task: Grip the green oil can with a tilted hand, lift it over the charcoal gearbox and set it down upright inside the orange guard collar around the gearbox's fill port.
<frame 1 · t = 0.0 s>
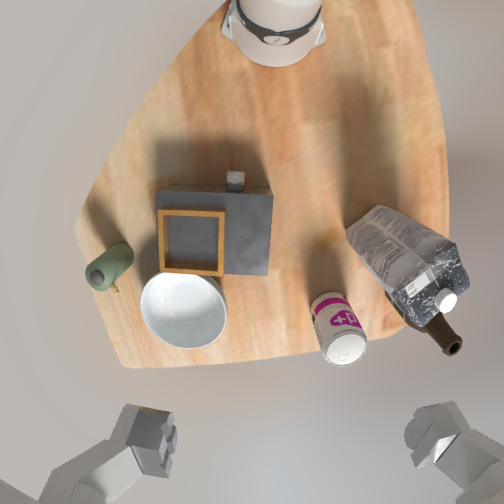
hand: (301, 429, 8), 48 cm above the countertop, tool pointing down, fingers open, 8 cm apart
juice carton: (370, 230, 56), on the countertop
supplement can: (328, 307, 61), on the countertop
beer bottle: (398, 283, 59), on the countertop
oil can: (122, 255, 58), on the countertop
gearbox: (219, 220, 55), on the countertop
cereal bowl: (189, 295, 61), on the countertop
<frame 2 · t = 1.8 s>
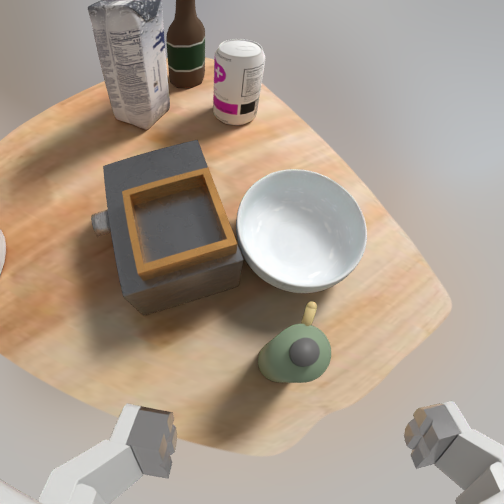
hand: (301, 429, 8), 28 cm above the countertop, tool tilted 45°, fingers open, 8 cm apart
juice carton: (142, 115, 52), on the countertop
supplement can: (234, 114, 53), on the countertop
beer bottle: (187, 80, 57), on the countertop
oil can: (279, 361, 36), on the countertop
gearbox: (172, 241, 41), on the countertop
cereal bowl: (292, 246, 43), on the countertop
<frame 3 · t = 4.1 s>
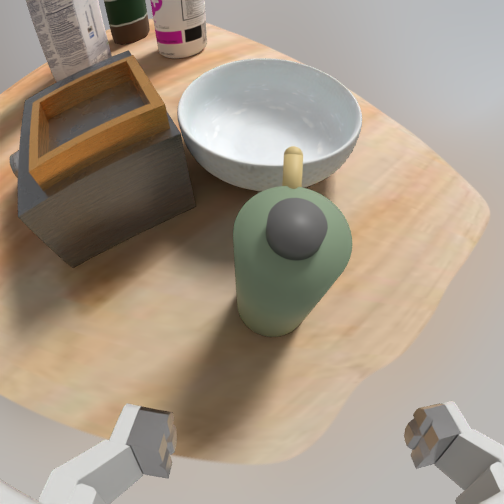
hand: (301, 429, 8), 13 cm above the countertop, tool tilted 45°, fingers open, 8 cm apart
juice carton: (84, 73, 40), on the countertop
supplement can: (183, 50, 41), on the countertop
beer bottle: (132, 37, 45), on the countertop
oil can: (272, 302, 24), on the countertop
gearbox: (109, 172, 29), on the countertop
cereal bowl: (266, 151, 31), on the countertop
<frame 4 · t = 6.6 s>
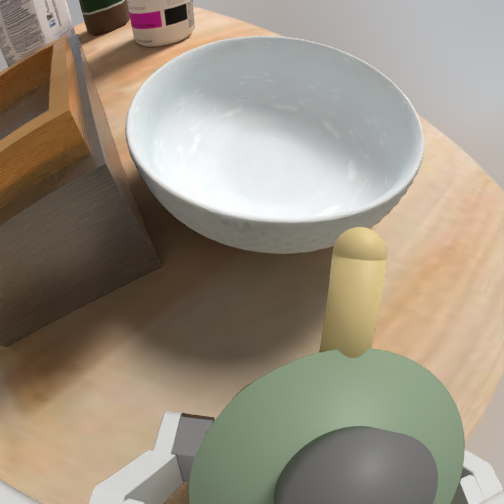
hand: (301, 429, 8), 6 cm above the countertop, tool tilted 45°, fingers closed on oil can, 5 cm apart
juice carton: (49, 70, 30), on the countertop
supplement can: (165, 37, 32), on the countertop
beer bottle: (109, 27, 36), on the countertop
oil can: (278, 425, 14), on the countertop, touching gripper
gearbox: (51, 206, 19), on the countertop
cereal bowl: (271, 173, 21), on the countertop
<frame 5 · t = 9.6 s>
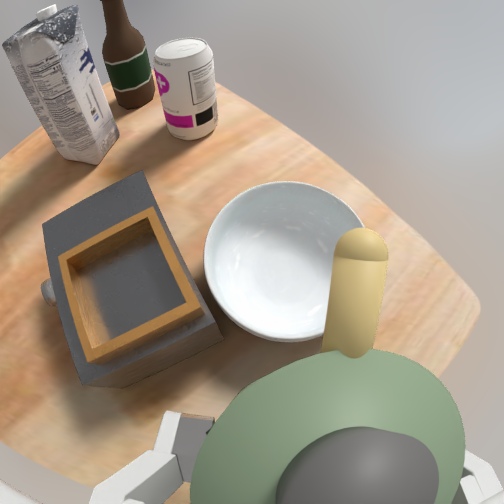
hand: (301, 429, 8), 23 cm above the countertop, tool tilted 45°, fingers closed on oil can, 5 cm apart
juice carton: (92, 148, 44), on the countertop
supplement can: (193, 126, 46), on the countertop
beer bottle: (137, 99, 50), on the countertop
oil can: (278, 425, 14), point 16 cm above the countertop, touching gripper
gearbox: (139, 295, 33), on the countertop
cereal bowl: (283, 277, 35), on the countertop
when the fingers open (17 cm above the countertop, at t = 12.8 s): oil can drops 1 cm, resting on gearbox.
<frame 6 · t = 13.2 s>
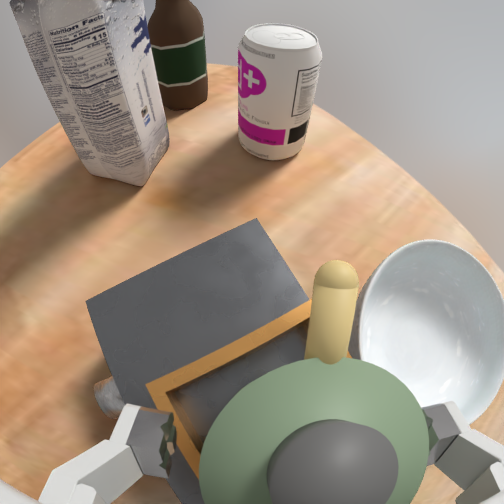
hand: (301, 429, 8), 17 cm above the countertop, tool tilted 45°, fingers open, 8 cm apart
juice carton: (130, 161, 35), on the countertop
supplement can: (271, 141, 37), on the countertop
beer bottle: (184, 97, 41), on the countertop
oil can: (274, 421, 15), point 9 cm above the countertop, touching gearbox
gearbox: (237, 386, 24), on the countertop
cereal bowl: (408, 348, 26), on the countertop
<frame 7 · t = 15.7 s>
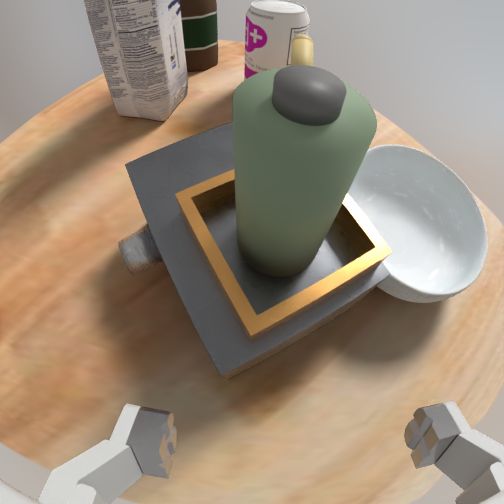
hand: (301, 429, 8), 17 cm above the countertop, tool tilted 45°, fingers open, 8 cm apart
juice carton: (153, 106, 40), on the countertop
supplement can: (271, 92, 42), on the countertop
beer bottle: (198, 63, 46), on the countertop
oil can: (278, 237, 20), point 9 cm above the countertop, touching gearbox
gearbox: (243, 262, 29), on the countertop
cereal bowl: (395, 243, 31), on the countertop
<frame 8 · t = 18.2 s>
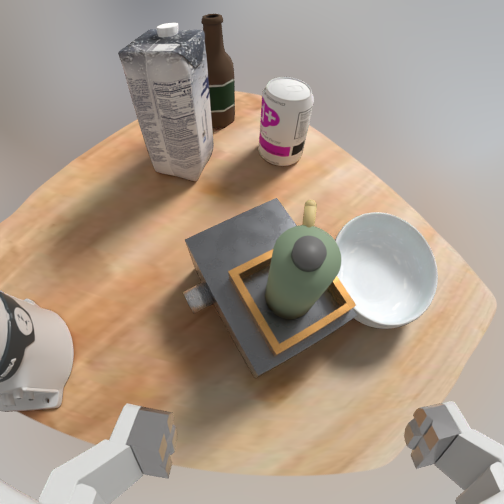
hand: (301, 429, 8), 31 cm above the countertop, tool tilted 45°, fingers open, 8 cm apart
juice carton: (184, 164, 53), on the countertop
supplement can: (279, 153, 55), on the countertop
beer bottle: (217, 118, 59), on the countertop
oil can: (289, 295, 33), point 9 cm above the countertop, touching gearbox
gearbox: (263, 300, 42), on the countertop
cereal bowl: (370, 282, 44), on the countertop
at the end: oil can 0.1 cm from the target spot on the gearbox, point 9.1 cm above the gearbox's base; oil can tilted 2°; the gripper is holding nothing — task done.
